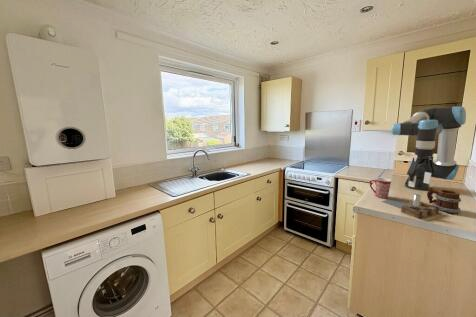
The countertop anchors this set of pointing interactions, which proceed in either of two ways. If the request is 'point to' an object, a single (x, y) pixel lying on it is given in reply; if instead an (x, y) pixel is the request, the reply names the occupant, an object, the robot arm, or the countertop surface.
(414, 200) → the peg
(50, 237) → the countertop surface
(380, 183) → the mug
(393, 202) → the mat
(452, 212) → the mug
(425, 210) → the hole block
